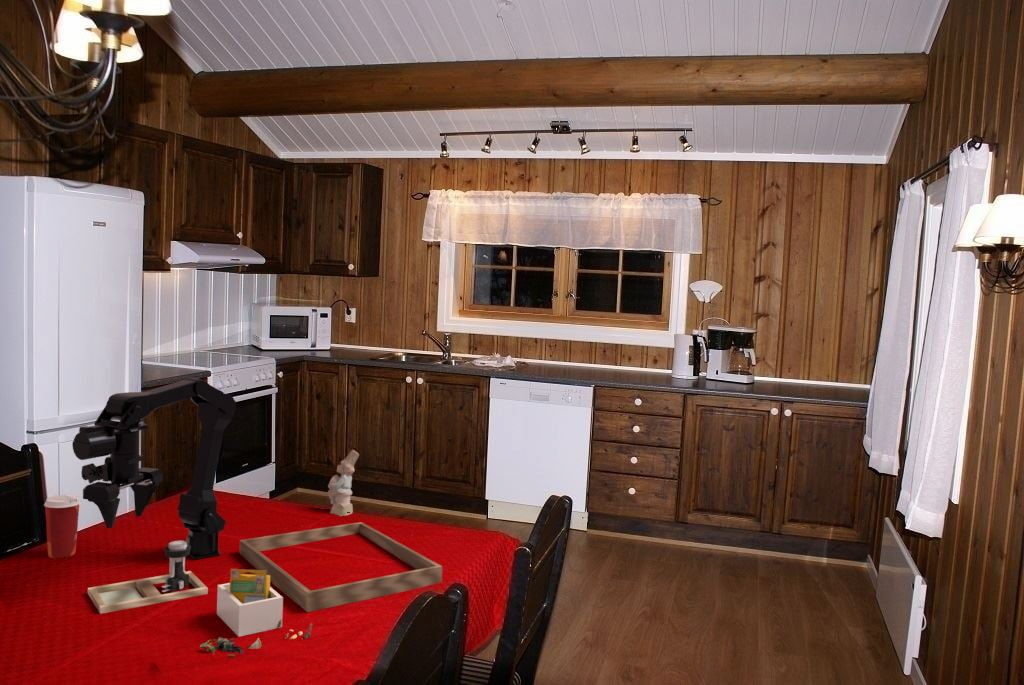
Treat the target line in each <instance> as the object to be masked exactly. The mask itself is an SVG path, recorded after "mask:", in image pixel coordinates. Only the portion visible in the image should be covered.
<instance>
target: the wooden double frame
mask: <svg viewBox="0 0 1024 685" xmlns="http://www.w3.org/2000/svg"><path fill="white" fill-rule="evenodd" d="M185 574H189V584H191V585H192V586H193V587H194V588H191V589H185V590H180V591H179V590H178V591H173V592H170V593H164V594H161V592H160V591H159V590H158V589H157V588H156V586H154V585H157V584H164V583H166V582H165V581H166V578H169V574H164V575H158V576H153V577H151V576H150V577H146V578H139V579H132V580H127V581H121V582H117V583H116V582H115V583H110V584H103V585H97V586H93V587H87V595H88V596H89V598H90V600H91V601H92V603H93V605H94V606H95V608H96V609H97V611H98V612H99V614H100V615H101V614H106V613H112V612H116V611H122V610H129V609H135V608H140V607H144V606H149V605H155V604H160V603H166V602H170V601H171V602H172V601H177V600H182V599H187V598H193V597H198V596H203V595H208V594H209V593H208V592H209V588H208V587H207V586H206V585H205V584H204V583H203V582H202V581H201V580H200V579H199V578H198V576H196V575H195V574H194V572H192V571H191V570H188V571H185Z"/></svg>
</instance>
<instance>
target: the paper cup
mask: <svg viewBox="0 0 1024 685" xmlns="http://www.w3.org/2000/svg"><path fill="white" fill-rule="evenodd" d="M81 503H82V501H81V500H80V497H79V496H78V495H76V494H57V495H52V496H50V497H47V498H46V500H45V503H44V504H43V506H44V507H45V522H46V523H45V524H46V543H47V544H46V545H47V556H48V558H52V559H64V557H65V558H69V557H72V556H73V555H75V553H76V550H77V539H78V538H77V537H78V527H79V526H78V525H79V513H80V504H81Z"/></svg>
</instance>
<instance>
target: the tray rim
mask: <svg viewBox="0 0 1024 685" xmlns="http://www.w3.org/2000/svg"><path fill="white" fill-rule="evenodd" d="M356 534H360V535H362V536H364V537H365V538H366V539H369V540H370V541H371V542H373V543H374V544H376V545H378V546H379V547H381V548H382V549H384V550H385V551H387V552H389V553H390V554H392V555H393V556H395V557H397V559H399V560H401V561H403V563H406V564H407V565H408V566H411V567H412V568H413V569H414V570H409V571H403V572H398V573H394V574H389V575H383V576H379V577H373V578H369V579H364V580H363V579H362V580H359V581H358V580H357V581H354V582H353V581H352V582H348V583H343V584H339V585H333V586H328V587H321V588H319V589H317V588H316V589H314V590H310V589H309V588H308V587H306V586H305V585H304V584H302V583H301V582H300V581H298V580H297V579H296V578H294V577H293V576H292V575H290V574H289V573H288V572H287V571H285V570H284V569H283V568H281V567H280V565H278V564H276V563H275V562H274V561H273V560H271V559H270V557H267V556H266V555H265V554H263V553H262V552H263V551H269V550H274V549H278V548H284V547H285V548H286V547H290V546H295V545H301V544H306V543H311V542H312V543H313V542H317V541H322V540H324V541H325V540H328V539H333V538H339V537H344V536H349V535H350V536H351V535H356ZM239 554H240V556H242V557H243V558H244V559H245V560H246V561H248V563H250V565H252V566H253V567H254V568H255V570H267V574H266V575H270V583H271V584H273V585H274V586H275V587H276V588H277V589H279V590H280V591H281V592H282V593H283V594H284V595H285V596H287V597H289V598H290V599H291V601H293V602H294V603H296V604H297V605H298V606H299V607H301V608H302V609H303V611H306V613H310V612H315V611H318V610H319V611H320V610H323V609H328V608H329V609H330V608H333V607H338V606H343V605H347V604H352V603H356V602H360V601H361V602H362V601H366V600H370V599H374V598H375V599H376V598H380V597H385V596H390V595H393V594H398V593H402V592H407V591H412V590H415V589H420V588H424V587H427V586H432V585H437V584H440V583H442V581H443V566H442V565H440V564H439V563H437V562H435V561H433V560H431V559H430V558H428V557H426V556H424V555H423V554H420V553H419V552H416V551H415V550H413V549H411V548H409V547H408V546H406V545H404V544H402V543H400V542H399V541H397V540H395V539H393V538H391V537H389V536H388V535H386V534H384V533H382V532H381V531H379V530H377V529H375V528H373V527H371V526H370V525H368V524H366V523H364V522H361V521H360V522H353V523H346V524H339V525H334V526H328V527H319V528H313V529H306V530H301V531H292V532H287V533H279V534H274V535H265V536H261V537H253V538H247V539H240V540H239Z"/></svg>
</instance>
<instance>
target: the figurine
mask: <svg viewBox="0 0 1024 685" xmlns="http://www.w3.org/2000/svg"><path fill="white" fill-rule="evenodd" d="M359 456H360V454H359V453H358V452H357V451H355V450H354V449H351V451H350V452H349V453H348V454H347V456H346V457H345V458H344V459H343V460H341V461H340V464H338V465H337V466H336V467H337V468H336V472H337V473H339V474H340V476H339V475H338V474H334V475H333V476H332V477H331V478H330V481H329V483H328V484H327V487H328V489H329V490H328V491H327V494H328V499H330V504H331V505H332V507H331V508H330V511H329V513H330V514H331V515H336V516H337V515H338V516H339V517H342V516H349V515H352V514H353V512H354V510H353V509H354V508H353V503H351V496H352V495H353V491H352V489H351V488H352V481H353V477H352V474H353V473H354V472H355V470H356V469H355V467H354V466H355V464H356V462H357V460H358V459H359ZM347 512H350V513H347Z"/></svg>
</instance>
